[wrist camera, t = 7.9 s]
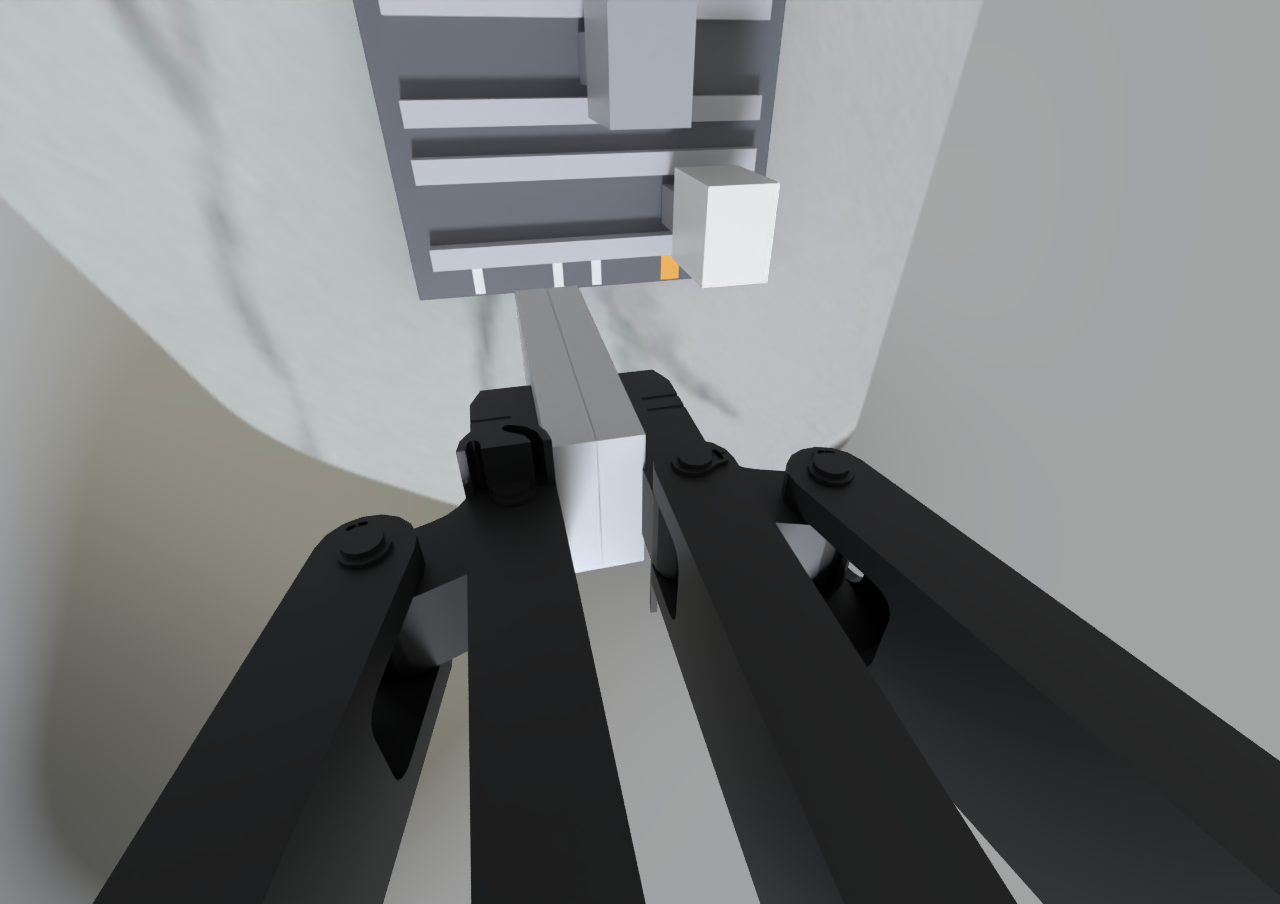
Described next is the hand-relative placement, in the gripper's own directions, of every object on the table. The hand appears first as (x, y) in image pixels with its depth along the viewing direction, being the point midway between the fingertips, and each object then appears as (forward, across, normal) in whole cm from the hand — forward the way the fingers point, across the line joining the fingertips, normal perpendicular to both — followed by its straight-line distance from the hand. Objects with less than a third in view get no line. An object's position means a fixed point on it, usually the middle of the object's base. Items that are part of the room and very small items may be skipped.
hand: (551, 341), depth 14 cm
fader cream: (+16, +9, -1) cm, 18 cm away
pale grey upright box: (+16, +5, +5) cm, 18 cm away
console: (+18, +4, +2) cm, 19 cm away
